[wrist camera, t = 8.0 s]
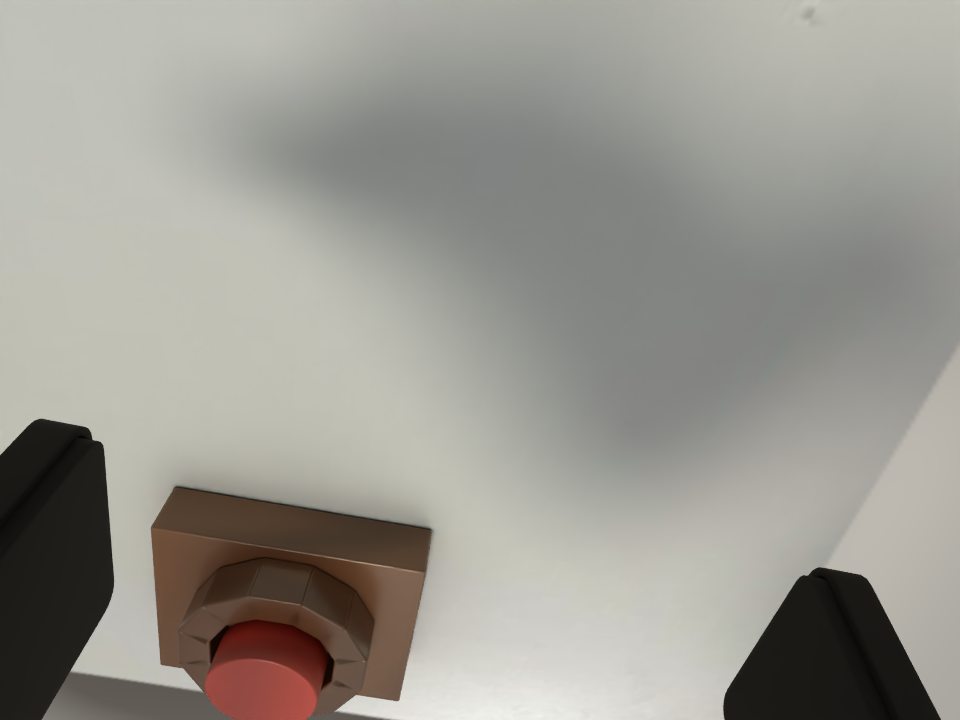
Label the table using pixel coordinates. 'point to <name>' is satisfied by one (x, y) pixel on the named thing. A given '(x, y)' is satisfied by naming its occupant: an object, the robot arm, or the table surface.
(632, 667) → the table surface
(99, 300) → the table surface
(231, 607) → the button housing
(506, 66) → the table surface
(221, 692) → the red push button
